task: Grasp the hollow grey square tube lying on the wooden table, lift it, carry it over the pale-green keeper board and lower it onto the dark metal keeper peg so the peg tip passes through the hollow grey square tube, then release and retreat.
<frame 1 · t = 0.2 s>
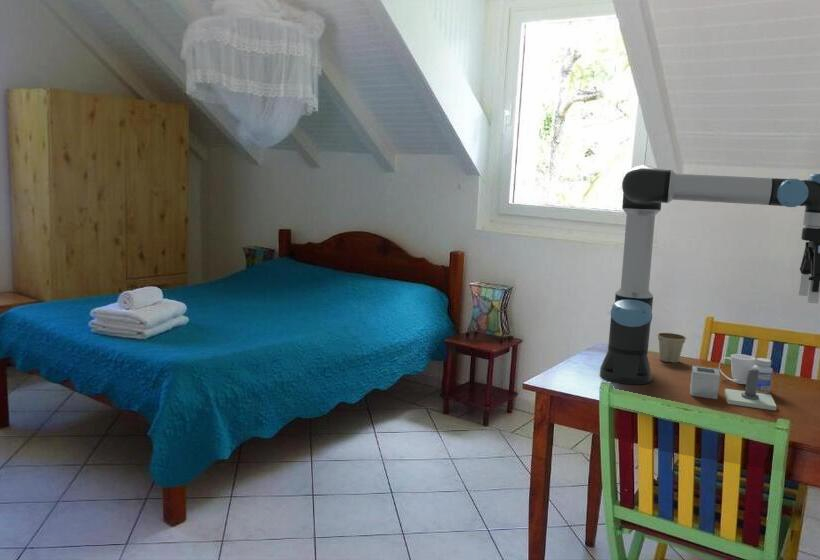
hand: (807, 299, 200), 28 cm above the table, fingers open, 13 cm apart
flower pot: (669, 360, 231), on the table
hollow grey square tube: (703, 393, 196), on the table
pill bottle: (759, 391, 200), on the table
cup: (734, 381, 210), on the table
keeper: (749, 401, 191), on the table
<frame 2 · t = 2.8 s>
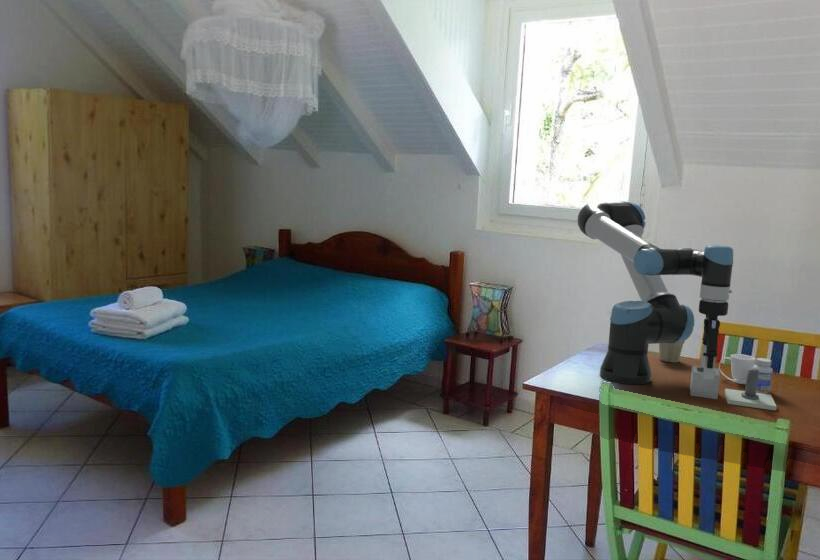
hand: (706, 373, 194), 6 cm above the table, fingers open, 13 cm apart
nothing on the table moved.
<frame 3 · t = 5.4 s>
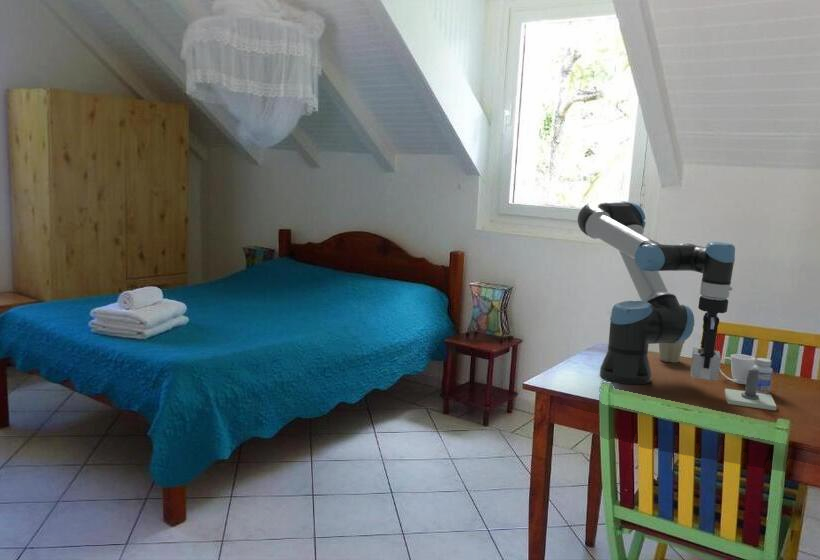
hand: (703, 374, 195), 6 cm above the table, fingers closed on hollow grey square tube, 7 cm apart
hollow grey square tube: (703, 375, 195), point 5 cm above the table, touching gripper
everything else where it was.
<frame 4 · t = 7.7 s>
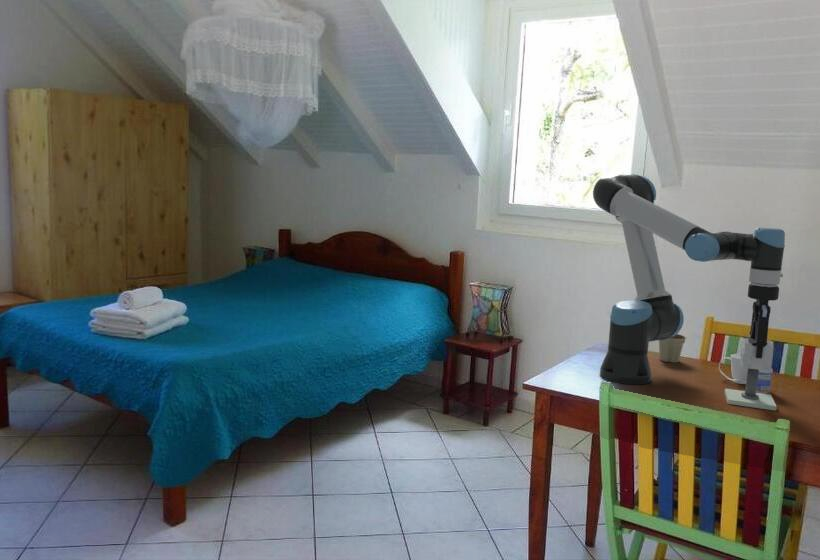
hand: (754, 365, 189), 11 cm above the table, fingers closed on hollow grey square tube, 7 cm apart
hollow grey square tube: (755, 366, 189), point 10 cm above the table, touching gripper
everything else where it was.
when the fingers open (2 cm above the table, at t = 10.0 s): hollow grey square tube stays where it is, resting on keeper.
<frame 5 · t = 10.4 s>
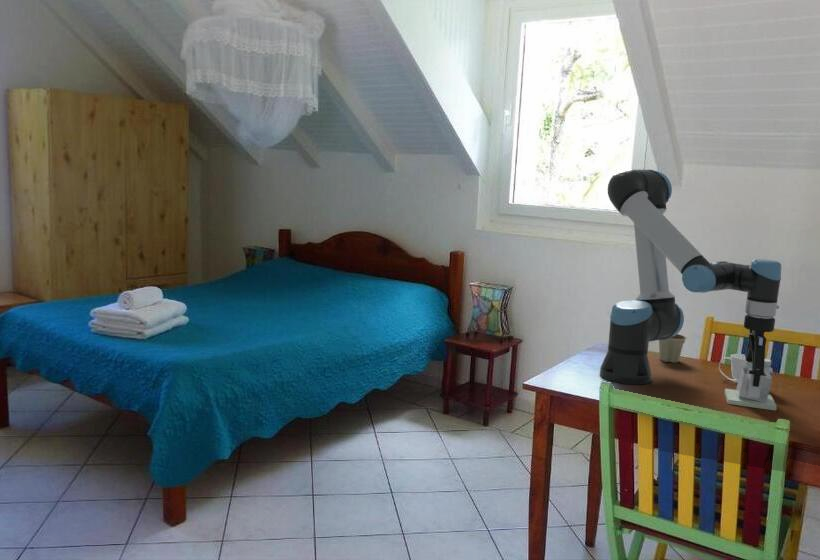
hand: (750, 390, 190), 3 cm above the table, fingers open, 12 cm apart
hollow grey square tube: (750, 396, 190), point 2 cm above the table, tilted 6°, touching keeper
everything else where it was.
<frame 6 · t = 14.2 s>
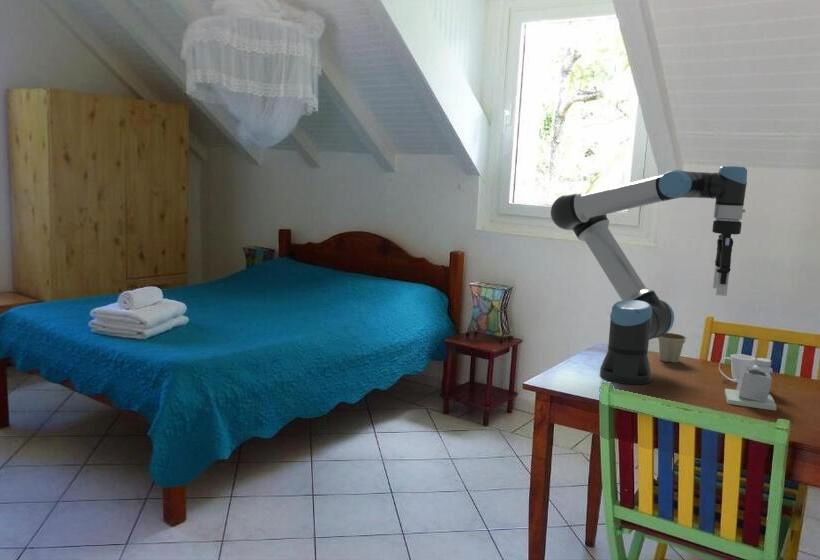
hand: (719, 291, 200), 29 cm above the table, fingers open, 13 cm apart
nothing on the table moved.
at the end: hollow grey square tube 0.2 cm off-centre on the keeper, point 1.6 cm above the keeper's base; the gripper is holding nothing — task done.
